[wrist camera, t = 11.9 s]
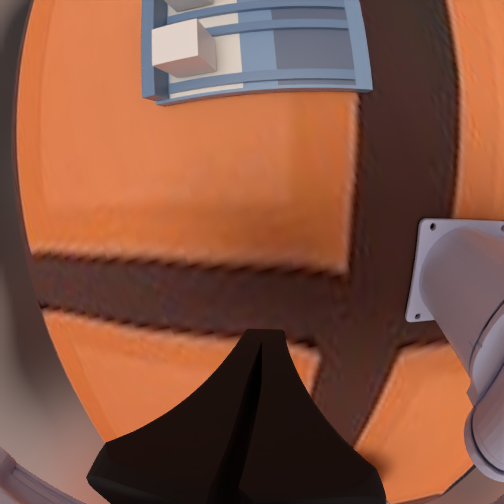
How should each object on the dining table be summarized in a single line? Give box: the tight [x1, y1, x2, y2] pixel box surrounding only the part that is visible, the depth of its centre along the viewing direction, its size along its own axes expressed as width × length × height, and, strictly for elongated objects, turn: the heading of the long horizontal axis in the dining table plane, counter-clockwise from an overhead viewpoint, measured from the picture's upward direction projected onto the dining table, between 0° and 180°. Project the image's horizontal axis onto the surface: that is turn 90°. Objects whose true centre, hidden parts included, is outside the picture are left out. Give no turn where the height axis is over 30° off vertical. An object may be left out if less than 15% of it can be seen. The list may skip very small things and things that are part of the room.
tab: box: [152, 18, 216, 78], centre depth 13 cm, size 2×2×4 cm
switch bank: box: [141, 0, 373, 106], centre depth 13 cm, size 13×10×3 cm
